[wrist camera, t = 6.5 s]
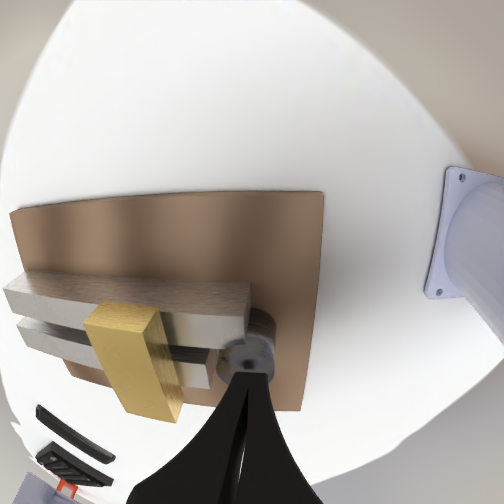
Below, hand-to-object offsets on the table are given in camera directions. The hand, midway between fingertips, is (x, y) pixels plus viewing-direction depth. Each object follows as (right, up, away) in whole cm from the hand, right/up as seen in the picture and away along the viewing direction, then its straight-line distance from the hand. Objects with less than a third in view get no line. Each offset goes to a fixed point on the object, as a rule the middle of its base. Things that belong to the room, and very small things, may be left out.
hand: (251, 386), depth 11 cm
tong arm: (-9, +1, +6) cm, 11 cm away
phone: (-29, -25, +21) cm, 44 cm away
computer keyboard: (-52, -54, +36) cm, 83 cm away
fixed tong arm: (-8, +2, +5) cm, 10 cm away
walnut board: (-7, +2, +6) cm, 9 cm away
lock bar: (-5, +1, +2) cm, 6 cm away
